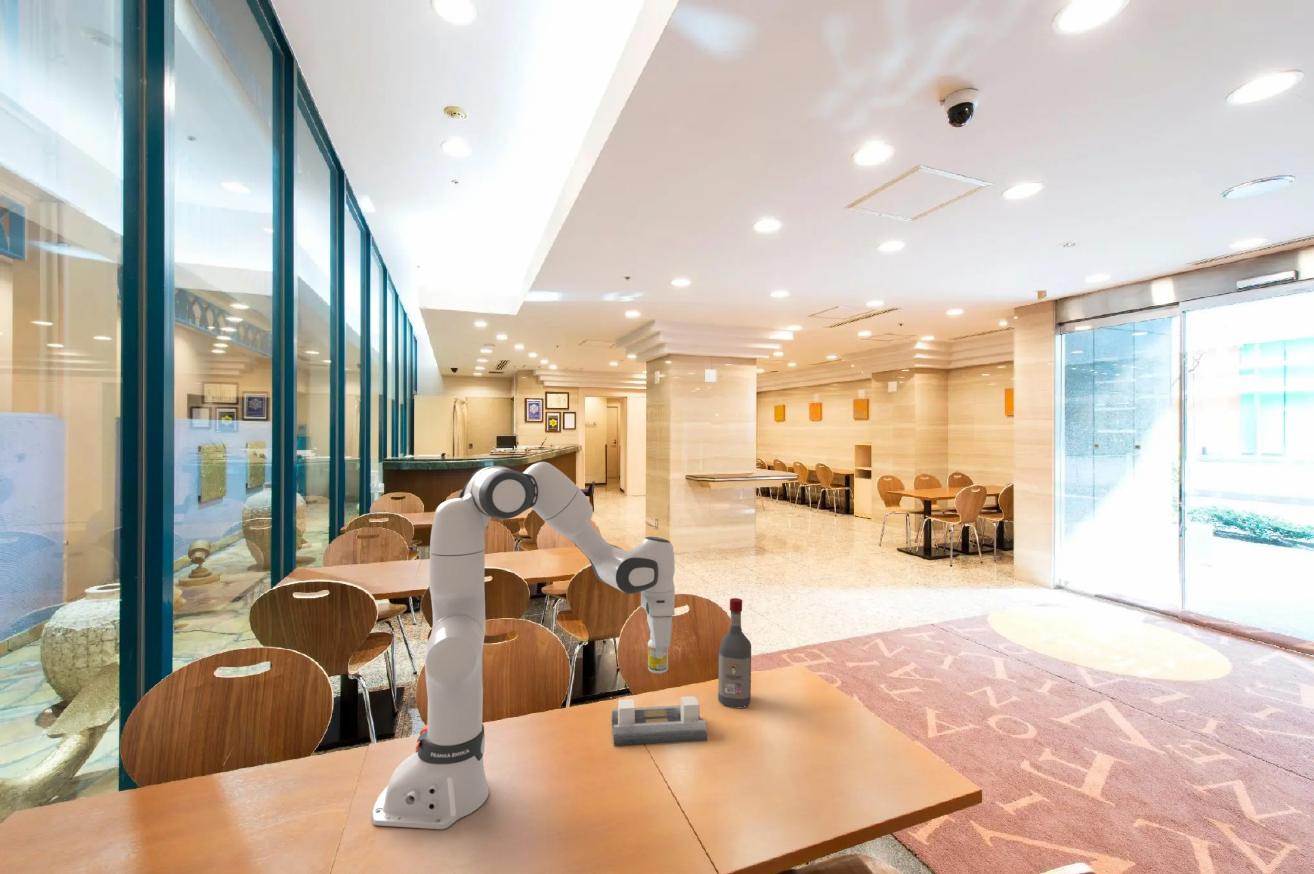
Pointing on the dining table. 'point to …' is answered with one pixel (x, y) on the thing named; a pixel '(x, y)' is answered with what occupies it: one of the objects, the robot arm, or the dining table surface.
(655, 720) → the rail
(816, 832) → the dining table surface
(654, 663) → the supplement bottle
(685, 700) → the rail posts
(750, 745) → the dining table surface
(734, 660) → the liquor
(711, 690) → the dining table surface
